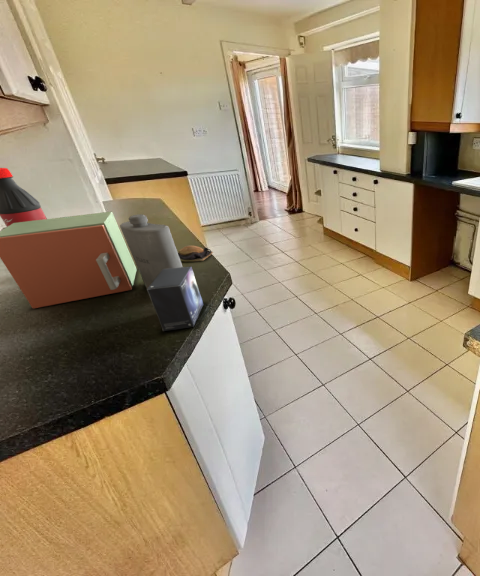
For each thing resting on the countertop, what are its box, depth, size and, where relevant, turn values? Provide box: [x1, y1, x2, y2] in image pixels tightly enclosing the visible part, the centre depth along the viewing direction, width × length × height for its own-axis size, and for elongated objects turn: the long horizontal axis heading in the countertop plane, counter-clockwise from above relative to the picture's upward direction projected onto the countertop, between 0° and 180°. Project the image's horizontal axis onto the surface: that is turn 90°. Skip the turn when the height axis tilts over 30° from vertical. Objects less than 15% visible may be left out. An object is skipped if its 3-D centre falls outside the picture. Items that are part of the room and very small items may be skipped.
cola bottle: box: [0, 167, 48, 228], centre depth 88 cm, size 8×8×30 cm
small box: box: [146, 266, 204, 332], centre depth 70 cm, size 11×6×10 cm, turn 17°
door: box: [0, 225, 133, 309], centre depth 75 cm, size 6×20×18 cm, turn 117°
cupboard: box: [0, 210, 138, 288], centre depth 83 cm, size 13×20×18 cm, turn 121°
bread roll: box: [177, 245, 214, 263], centre depth 104 cm, size 11×8×4 cm
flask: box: [119, 213, 184, 289], centre depth 81 cm, size 15×6×20 cm, turn 64°
